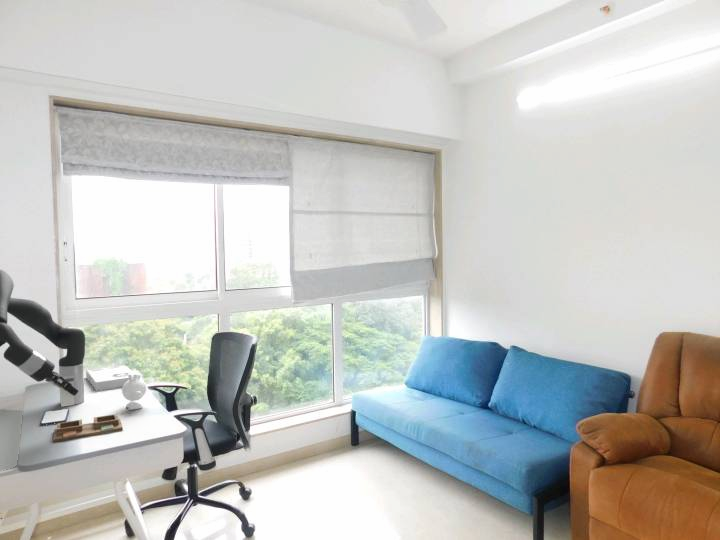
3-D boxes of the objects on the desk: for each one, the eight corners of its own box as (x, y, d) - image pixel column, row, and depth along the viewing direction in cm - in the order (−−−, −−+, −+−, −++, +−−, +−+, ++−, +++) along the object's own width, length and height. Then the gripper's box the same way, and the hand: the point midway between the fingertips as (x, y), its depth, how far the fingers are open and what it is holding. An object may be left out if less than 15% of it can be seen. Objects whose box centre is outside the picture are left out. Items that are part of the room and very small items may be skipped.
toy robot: (118, 405, 213) (117, 371, 213) (141, 401, 219) (140, 368, 219) (127, 413, 202) (126, 378, 201) (151, 409, 208) (150, 374, 207)
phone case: (66, 424, 192) (69, 411, 206) (66, 420, 192) (69, 408, 206) (39, 428, 188) (44, 415, 202) (39, 424, 188) (44, 411, 202)
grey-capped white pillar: (61, 403, 181) (61, 376, 181) (74, 402, 183) (73, 375, 183) (61, 406, 177) (60, 379, 177) (74, 404, 179) (73, 377, 179)
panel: (54, 431, 182) (54, 423, 182) (119, 420, 193) (119, 413, 193) (53, 442, 171) (53, 433, 171) (122, 430, 183) (122, 422, 183)
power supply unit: (124, 373, 273) (124, 364, 273) (138, 386, 247) (137, 376, 247) (86, 378, 262) (86, 369, 262) (96, 392, 236) (95, 382, 235)
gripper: (20, 371, 174) (58, 397, 184) (34, 377, 165) (73, 404, 175) (36, 354, 178) (73, 380, 188) (51, 359, 169) (88, 386, 179)
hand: (73, 391), depth 181 cm, fingers closed on grey-capped white pillar, 5 cm apart
